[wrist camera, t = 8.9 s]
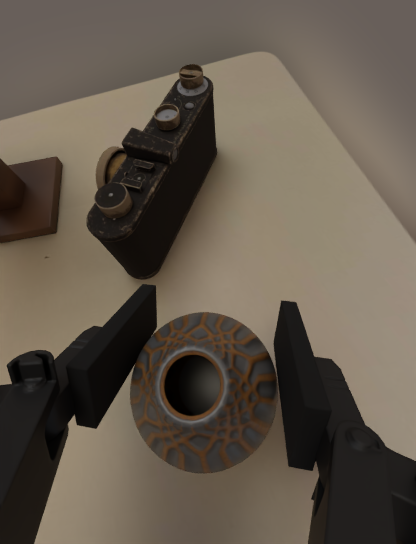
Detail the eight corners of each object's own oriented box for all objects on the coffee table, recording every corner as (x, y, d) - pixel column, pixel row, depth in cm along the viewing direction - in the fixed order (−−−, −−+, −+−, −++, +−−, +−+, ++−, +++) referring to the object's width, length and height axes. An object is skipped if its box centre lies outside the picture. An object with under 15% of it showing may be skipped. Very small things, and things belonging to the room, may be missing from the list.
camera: (168, 135, 29) (147, 50, 21) (225, 147, 27) (223, 61, 20) (90, 262, 23) (26, 205, 16) (157, 286, 22) (120, 236, 14)
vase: (191, 310, 18) (161, 251, 10) (284, 361, 16) (338, 340, 8) (133, 406, 16) (37, 430, 8) (233, 477, 14) (239, 599, 6)
